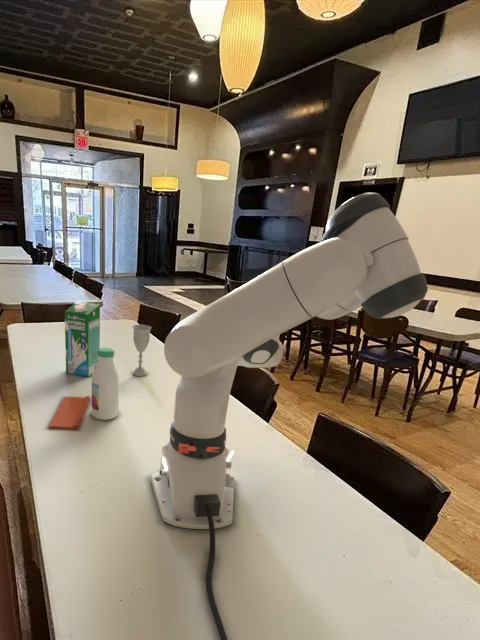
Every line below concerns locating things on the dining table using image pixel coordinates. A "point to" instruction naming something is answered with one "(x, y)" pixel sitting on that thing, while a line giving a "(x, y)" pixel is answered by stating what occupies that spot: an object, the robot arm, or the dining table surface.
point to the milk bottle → (105, 386)
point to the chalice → (141, 345)
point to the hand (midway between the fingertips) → (173, 347)
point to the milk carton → (82, 338)
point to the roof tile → (70, 413)
